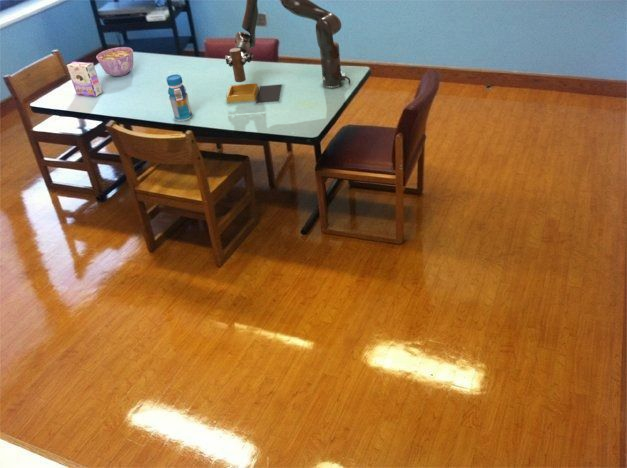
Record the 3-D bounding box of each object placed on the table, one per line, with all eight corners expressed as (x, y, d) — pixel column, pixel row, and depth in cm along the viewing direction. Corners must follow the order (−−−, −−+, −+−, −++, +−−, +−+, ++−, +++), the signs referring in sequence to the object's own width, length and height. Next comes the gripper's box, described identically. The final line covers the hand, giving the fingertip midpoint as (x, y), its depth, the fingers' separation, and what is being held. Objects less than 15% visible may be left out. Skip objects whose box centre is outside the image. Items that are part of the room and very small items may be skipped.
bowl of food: (133, 78, 328) (127, 58, 321) (98, 82, 329) (91, 61, 323) (142, 65, 344) (136, 45, 337) (108, 68, 346) (102, 48, 339)
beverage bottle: (171, 120, 280) (160, 80, 268) (180, 112, 286) (170, 72, 274) (186, 122, 277) (176, 81, 265) (195, 114, 283) (186, 73, 271)
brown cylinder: (246, 77, 291) (241, 47, 282) (245, 81, 287) (239, 51, 278) (236, 78, 292) (230, 48, 283) (234, 82, 288) (228, 52, 279)
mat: (282, 85, 301) (281, 84, 301) (278, 102, 285) (278, 101, 285) (260, 87, 302) (260, 86, 302) (256, 104, 286) (255, 103, 286)
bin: (258, 89, 299) (257, 83, 297) (255, 101, 288) (254, 94, 286) (231, 91, 300) (230, 85, 298) (227, 103, 290) (226, 96, 288)
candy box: (103, 92, 316) (93, 62, 306) (96, 97, 312) (85, 66, 302) (83, 90, 322) (73, 60, 312) (76, 94, 318) (65, 65, 308)
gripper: (225, 45, 294) (219, 57, 280) (254, 42, 293) (250, 55, 279) (228, 60, 298) (223, 73, 285) (256, 57, 297) (252, 70, 283)
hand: (236, 64), depth 282 cm, fingers closed on brown cylinder, 5 cm apart
